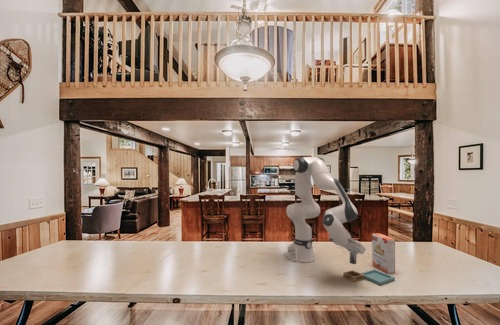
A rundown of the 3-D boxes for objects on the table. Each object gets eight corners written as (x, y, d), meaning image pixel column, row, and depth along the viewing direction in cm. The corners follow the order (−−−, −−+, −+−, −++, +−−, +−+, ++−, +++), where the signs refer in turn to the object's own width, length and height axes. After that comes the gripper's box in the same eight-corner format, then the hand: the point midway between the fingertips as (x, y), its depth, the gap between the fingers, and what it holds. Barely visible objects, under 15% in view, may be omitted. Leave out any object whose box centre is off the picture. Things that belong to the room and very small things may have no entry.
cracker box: (371, 265, 169) (371, 233, 169) (379, 264, 170) (379, 232, 170) (387, 274, 155) (386, 239, 155) (395, 273, 156) (395, 238, 156)
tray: (359, 276, 151) (359, 273, 151) (374, 272, 157) (374, 269, 157) (380, 285, 140) (380, 282, 140) (394, 280, 146) (394, 277, 146)
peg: (348, 262, 151) (348, 241, 151) (352, 261, 152) (352, 240, 152) (353, 264, 148) (353, 243, 147) (357, 263, 149) (358, 242, 149)
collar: (343, 276, 151) (343, 272, 151) (352, 274, 155) (352, 270, 155) (354, 282, 144) (354, 277, 144) (364, 279, 148) (364, 274, 148)
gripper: (360, 237, 137) (372, 252, 142) (331, 228, 155) (342, 242, 160) (354, 247, 135) (366, 262, 140) (326, 236, 153) (337, 250, 158)
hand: (353, 251), depth 150 cm, fingers closed on peg, 4 cm apart
